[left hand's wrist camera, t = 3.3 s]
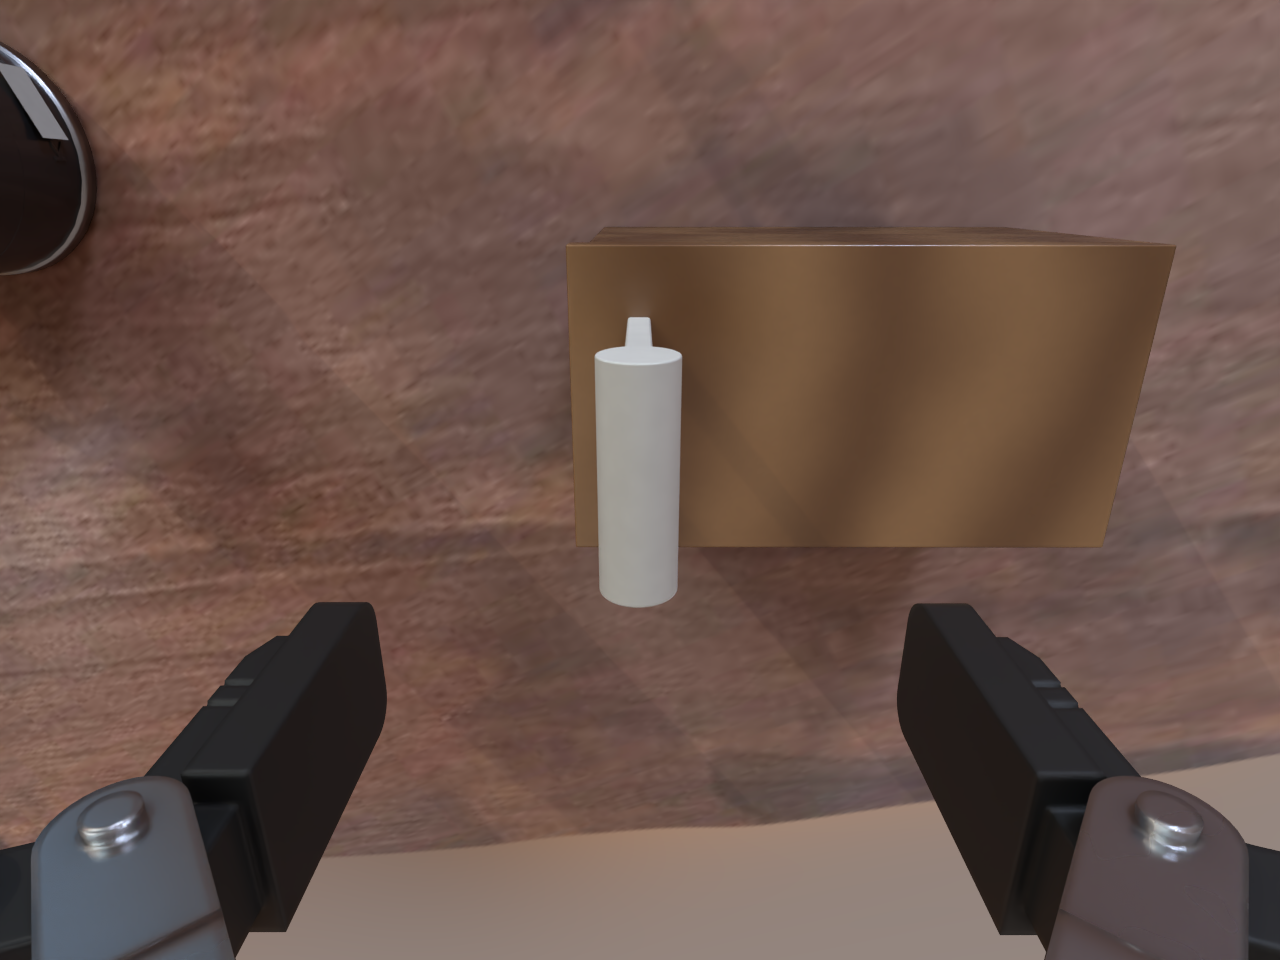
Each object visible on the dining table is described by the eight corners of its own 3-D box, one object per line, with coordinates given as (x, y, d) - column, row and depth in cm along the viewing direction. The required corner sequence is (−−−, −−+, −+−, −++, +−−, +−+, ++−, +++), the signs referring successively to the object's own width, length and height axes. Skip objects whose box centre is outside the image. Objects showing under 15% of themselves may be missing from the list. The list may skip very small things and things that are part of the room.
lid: (578, 535, 27) (552, 675, 19) (568, 242, 23) (532, 269, 15) (1086, 535, 27) (1268, 676, 19) (1155, 242, 23) (1415, 269, 15)
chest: (606, 444, 36) (594, 534, 27) (603, 226, 32) (587, 242, 23) (970, 444, 36) (1085, 534, 27) (1006, 226, 32) (1154, 242, 23)
